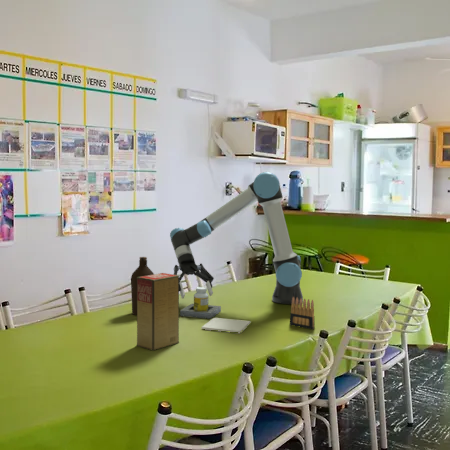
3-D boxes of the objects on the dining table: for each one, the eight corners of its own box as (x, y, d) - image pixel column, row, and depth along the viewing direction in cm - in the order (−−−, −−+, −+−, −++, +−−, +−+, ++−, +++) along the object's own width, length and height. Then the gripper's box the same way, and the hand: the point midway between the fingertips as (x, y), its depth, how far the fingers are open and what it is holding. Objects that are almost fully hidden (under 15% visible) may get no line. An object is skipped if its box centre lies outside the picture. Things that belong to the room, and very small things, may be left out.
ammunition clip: (314, 328, 228) (315, 299, 227) (312, 329, 227) (313, 300, 226) (291, 324, 235) (292, 295, 234) (289, 325, 233) (290, 296, 232)
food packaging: (162, 337, 212) (162, 272, 209) (180, 342, 206) (180, 275, 204) (135, 345, 201) (135, 276, 199) (153, 351, 195) (154, 280, 193)
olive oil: (126, 312, 250) (127, 256, 247) (148, 309, 256) (148, 255, 253) (136, 317, 241) (137, 259, 239) (159, 314, 247) (159, 258, 244)
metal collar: (220, 311, 254) (220, 306, 254) (210, 318, 241) (210, 313, 240) (191, 308, 258) (191, 303, 258) (180, 315, 245) (180, 310, 245)
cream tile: (250, 323, 234) (250, 321, 234) (240, 333, 219) (240, 331, 219) (214, 319, 239) (214, 317, 239) (201, 329, 224) (201, 327, 224)
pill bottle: (193, 312, 252) (193, 286, 251) (207, 312, 253) (208, 286, 252) (193, 315, 246) (194, 289, 245) (208, 315, 246) (209, 289, 245)
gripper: (206, 260, 270) (219, 297, 258) (157, 263, 259) (169, 302, 247) (211, 251, 265) (225, 288, 253) (161, 253, 254) (173, 292, 242)
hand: (197, 295), depth 250 cm, fingers open, 13 cm apart
